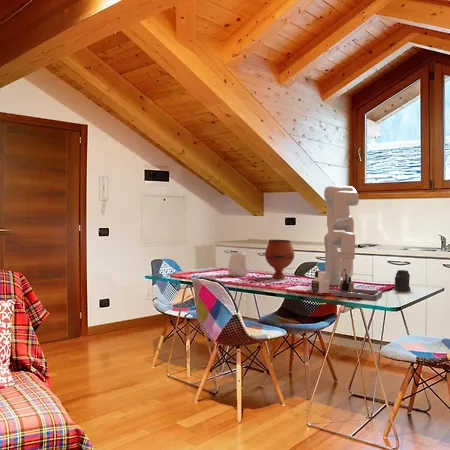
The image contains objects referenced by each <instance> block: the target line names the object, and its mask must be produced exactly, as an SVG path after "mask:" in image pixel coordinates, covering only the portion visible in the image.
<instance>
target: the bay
mask: <svg viewBox="0 0 450 450" xmlns="http://www.w3.org/2000/svg"><path fill="white" fill-rule="evenodd" d="M352 292H355V293H348V292H346V291H336V290H334V291H333V292H332V296H333V295H334V296H333V297H336V296H342V297H341V298H346V297H357V298H362V299H361V300H365V299H367V301H377V300H378V299H380V298H381V297H382V296H383V291H382V290H377V289H376V290H374V289H364V288H355V287H354V291H352ZM358 293H369V294H374V295H368V294H358Z"/></svg>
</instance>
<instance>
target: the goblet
mask: <svg viewBox="0 0 450 450" xmlns="http://www.w3.org/2000/svg"><path fill="white" fill-rule="evenodd" d="M267 243H268V244H267V247H266V249H265V253H264V257H265V261H266V262H267V263H268V265H269V266H270V267H272V268H273V270H274V271H275V272H274V273H273V275H272V276H271V278H272V279H282V280H283V279H286V276H285V273H283V271H284V269H285V268H287V267H289V266H290V265H291V263H292V262H293V261H294V258H295V251H294V248H293V246H292V243H291V240H289V239H272V238H271V239H268V242H267Z"/></svg>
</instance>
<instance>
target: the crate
mask: <svg viewBox="0 0 450 450" xmlns="http://www.w3.org/2000/svg"><path fill="white" fill-rule="evenodd" d="M348 283H349V288H348V291H346V292H352V291H354V288H355V287H354V285H355V281H354V282H352V281H351V282H348ZM341 291H344V290H342V281H341V282H340V285H339V292H341Z"/></svg>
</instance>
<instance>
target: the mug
mask: <svg viewBox="0 0 450 450" xmlns="http://www.w3.org/2000/svg"><path fill="white" fill-rule="evenodd" d="M410 278H411V275H410V273H409V271H408V270H405V269H403V270H402V269H398V270H397V271H396V273H395V277H394V288H393V290H394V291H396V292H404V293H405V292H408V293H409V292H411V287H410V286H411V285H410V280H411V279H410Z"/></svg>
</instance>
